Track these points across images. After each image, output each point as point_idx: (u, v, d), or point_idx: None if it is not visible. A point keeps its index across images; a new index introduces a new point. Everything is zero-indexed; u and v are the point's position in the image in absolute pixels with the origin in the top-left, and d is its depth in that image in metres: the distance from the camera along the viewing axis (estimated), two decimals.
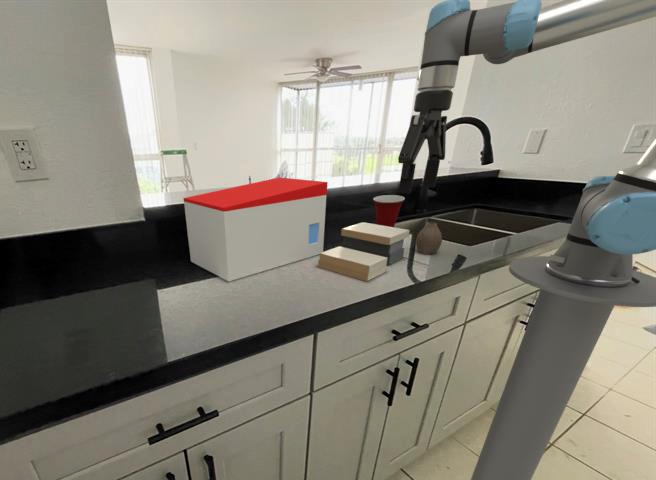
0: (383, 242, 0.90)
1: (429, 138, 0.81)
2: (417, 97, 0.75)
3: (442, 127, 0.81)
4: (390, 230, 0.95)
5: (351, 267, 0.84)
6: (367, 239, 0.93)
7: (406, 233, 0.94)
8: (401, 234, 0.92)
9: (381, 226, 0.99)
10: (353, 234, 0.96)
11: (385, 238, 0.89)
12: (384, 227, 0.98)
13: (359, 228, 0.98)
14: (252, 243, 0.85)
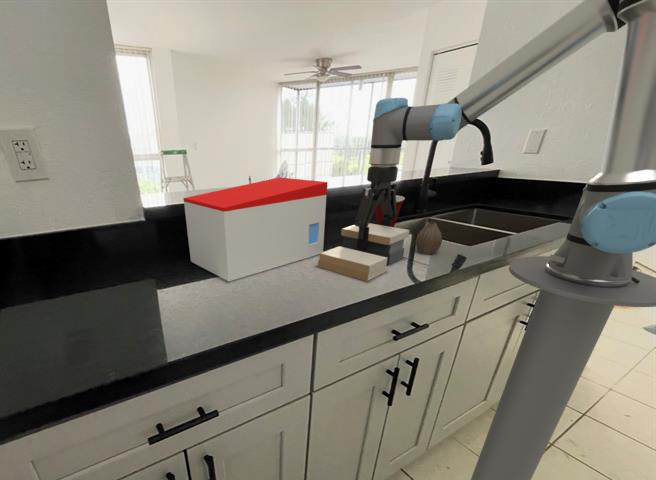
0: (383, 242, 0.90)
1: (381, 201, 0.95)
2: (369, 170, 0.89)
3: (392, 193, 0.95)
4: (390, 230, 0.95)
5: (351, 267, 0.84)
6: None
7: (406, 233, 0.94)
8: (401, 234, 0.92)
9: (381, 226, 0.99)
10: (353, 234, 0.96)
11: (385, 238, 0.89)
12: (384, 227, 0.98)
13: None
14: (252, 243, 0.85)
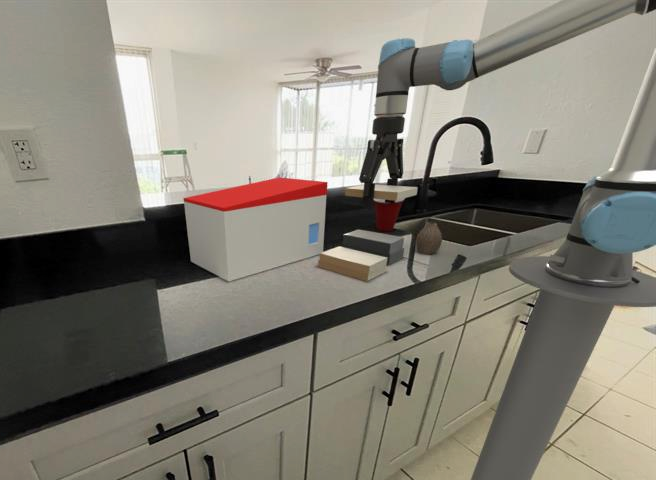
0: (390, 198, 0.84)
1: (387, 158, 0.90)
2: (374, 122, 0.84)
3: (399, 148, 0.90)
4: (397, 188, 0.90)
5: (351, 267, 0.84)
6: None
7: (414, 190, 0.89)
8: (409, 190, 0.87)
9: (387, 185, 0.94)
10: (358, 193, 0.91)
11: (392, 193, 0.84)
12: (390, 186, 0.93)
13: None
14: (252, 243, 0.85)
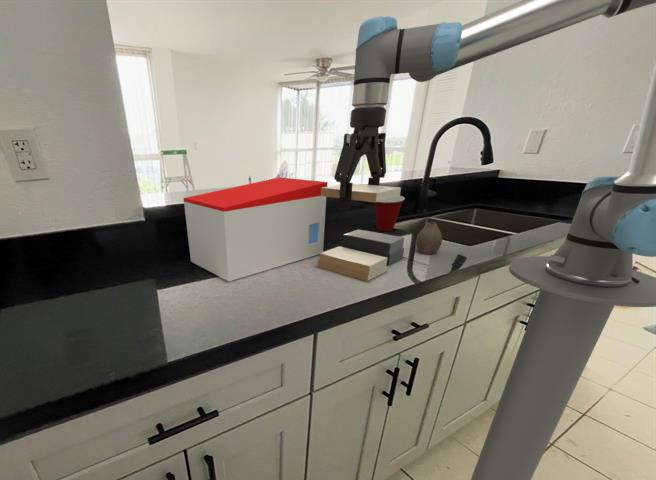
0: (368, 199, 0.75)
1: (368, 154, 0.81)
2: (351, 113, 0.75)
3: (381, 144, 0.80)
4: (378, 188, 0.80)
5: (351, 267, 0.84)
6: None
7: (397, 191, 0.79)
8: (390, 191, 0.77)
9: (368, 185, 0.85)
10: (334, 193, 0.81)
11: (371, 194, 0.74)
12: (371, 186, 0.83)
13: None
14: (252, 243, 0.85)
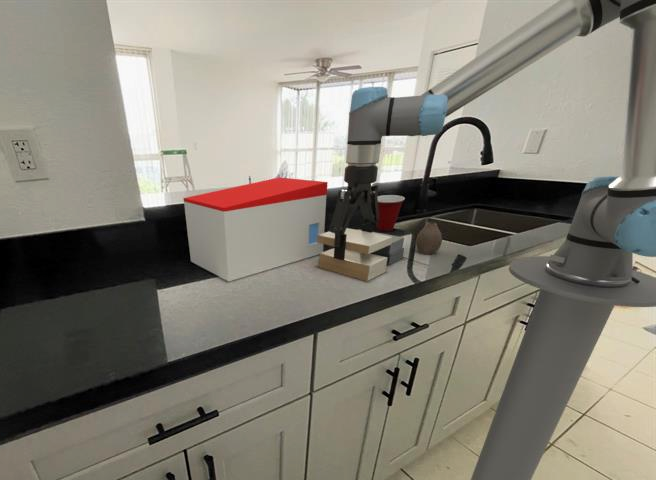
0: (361, 251, 0.79)
1: (361, 205, 0.85)
2: (345, 170, 0.79)
3: (373, 195, 0.85)
4: (371, 237, 0.84)
5: (351, 267, 0.84)
6: None
7: (388, 240, 0.84)
8: (382, 242, 0.82)
9: (362, 232, 0.89)
10: (330, 241, 0.85)
11: (363, 246, 0.79)
12: (365, 233, 0.88)
13: None
14: (252, 243, 0.85)
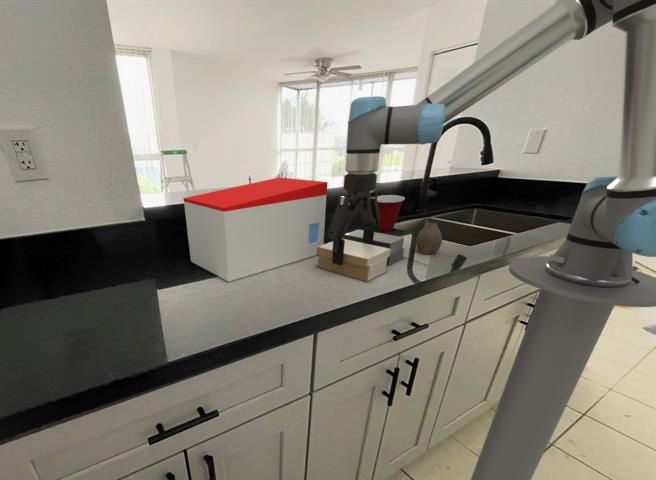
0: (360, 263, 0.81)
1: None
2: (344, 178, 0.80)
3: (373, 201, 0.86)
4: (369, 249, 0.86)
5: (351, 267, 0.84)
6: (343, 259, 0.84)
7: (387, 252, 0.85)
8: (381, 254, 0.83)
9: (360, 244, 0.90)
10: (329, 253, 0.87)
11: (362, 259, 0.80)
12: (363, 245, 0.89)
13: None
14: (252, 243, 0.85)
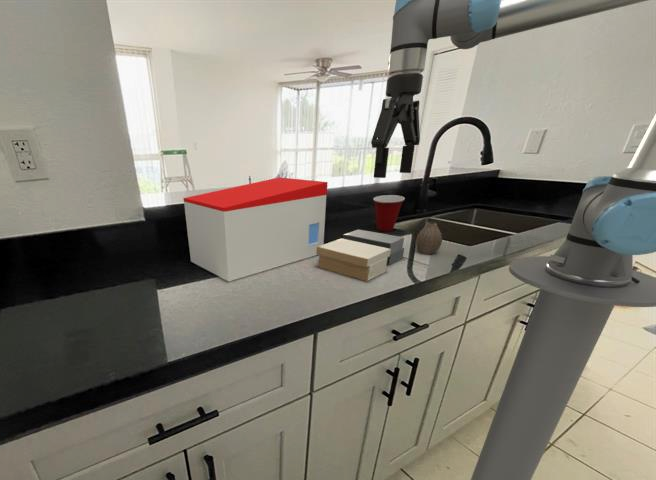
0: (360, 263, 0.81)
1: (402, 123, 0.82)
2: (388, 81, 0.76)
3: (415, 112, 0.81)
4: (369, 249, 0.86)
5: (351, 267, 0.84)
6: (343, 259, 0.84)
7: (387, 252, 0.85)
8: (381, 254, 0.83)
9: (360, 244, 0.90)
10: (329, 253, 0.87)
11: (362, 259, 0.80)
12: (363, 245, 0.89)
13: (336, 246, 0.89)
14: (252, 243, 0.85)
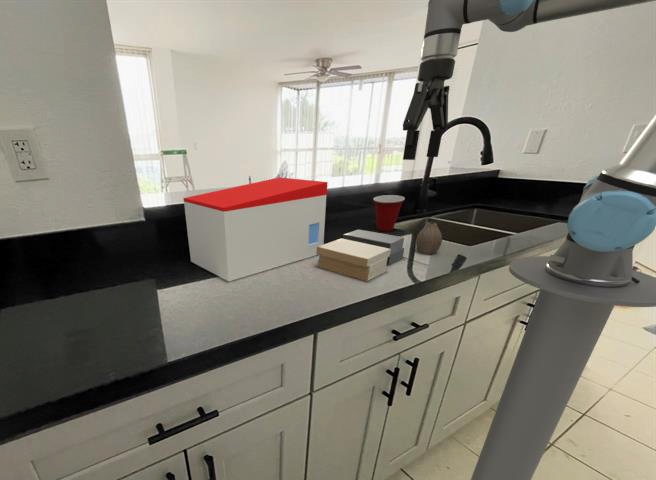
0: (360, 263, 0.81)
1: (432, 108, 0.85)
2: (421, 66, 0.79)
3: (445, 97, 0.84)
4: (369, 249, 0.86)
5: (351, 267, 0.84)
6: (343, 259, 0.84)
7: (387, 252, 0.85)
8: (381, 254, 0.83)
9: (360, 244, 0.90)
10: (329, 253, 0.87)
11: (362, 259, 0.80)
12: (363, 245, 0.89)
13: (336, 246, 0.89)
14: (252, 243, 0.85)
